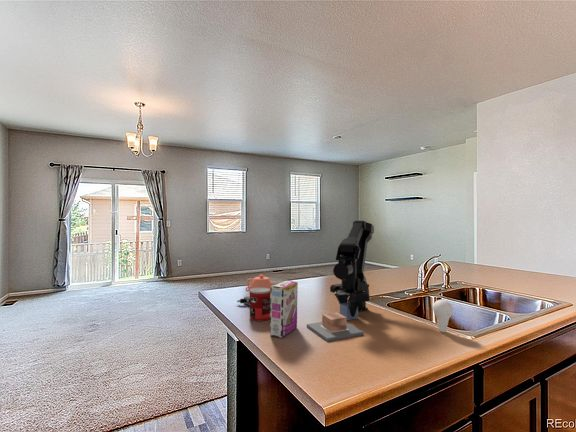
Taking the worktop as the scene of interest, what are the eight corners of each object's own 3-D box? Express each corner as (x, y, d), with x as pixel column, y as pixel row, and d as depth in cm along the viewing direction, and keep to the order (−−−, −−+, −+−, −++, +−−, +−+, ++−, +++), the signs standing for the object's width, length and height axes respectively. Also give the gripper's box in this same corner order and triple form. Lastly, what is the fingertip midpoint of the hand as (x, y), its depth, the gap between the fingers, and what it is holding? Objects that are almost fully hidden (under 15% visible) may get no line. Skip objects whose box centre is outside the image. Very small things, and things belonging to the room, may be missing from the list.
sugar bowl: (272, 298, 149) (273, 277, 149) (243, 298, 149) (243, 277, 149) (274, 292, 161) (274, 272, 161) (247, 292, 161) (247, 272, 161)
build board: (340, 321, 116) (340, 318, 116) (363, 334, 103) (363, 331, 103) (306, 327, 110) (306, 323, 110) (327, 341, 98) (327, 338, 98)
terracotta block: (337, 323, 111) (337, 312, 111) (346, 329, 105) (346, 317, 105) (322, 325, 108) (322, 314, 108) (331, 331, 103) (331, 319, 103)
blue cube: (350, 314, 124) (350, 302, 124) (358, 318, 120) (358, 305, 120) (339, 316, 122) (339, 303, 122) (347, 320, 118) (347, 306, 118)
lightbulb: (445, 336, 101) (445, 303, 101) (428, 330, 107) (428, 298, 107) (457, 333, 104) (457, 300, 104) (440, 327, 110) (440, 296, 110)
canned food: (249, 315, 124) (249, 287, 124) (270, 314, 124) (270, 287, 124) (249, 321, 116) (249, 292, 116) (270, 321, 117) (270, 291, 117)
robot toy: (235, 307, 137) (261, 311, 128) (234, 297, 137) (260, 300, 128) (253, 301, 147) (279, 304, 138) (253, 292, 147) (278, 294, 138)
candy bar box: (283, 339, 100) (283, 287, 100) (269, 336, 102) (269, 286, 102) (298, 327, 110) (298, 281, 110) (285, 325, 112) (285, 279, 112)
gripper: (381, 277, 116) (381, 319, 116) (351, 269, 133) (351, 305, 133) (356, 279, 111) (356, 323, 111) (329, 271, 128) (329, 309, 128)
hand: (348, 314), depth 121 cm, fingers closed on blue cube, 5 cm apart
